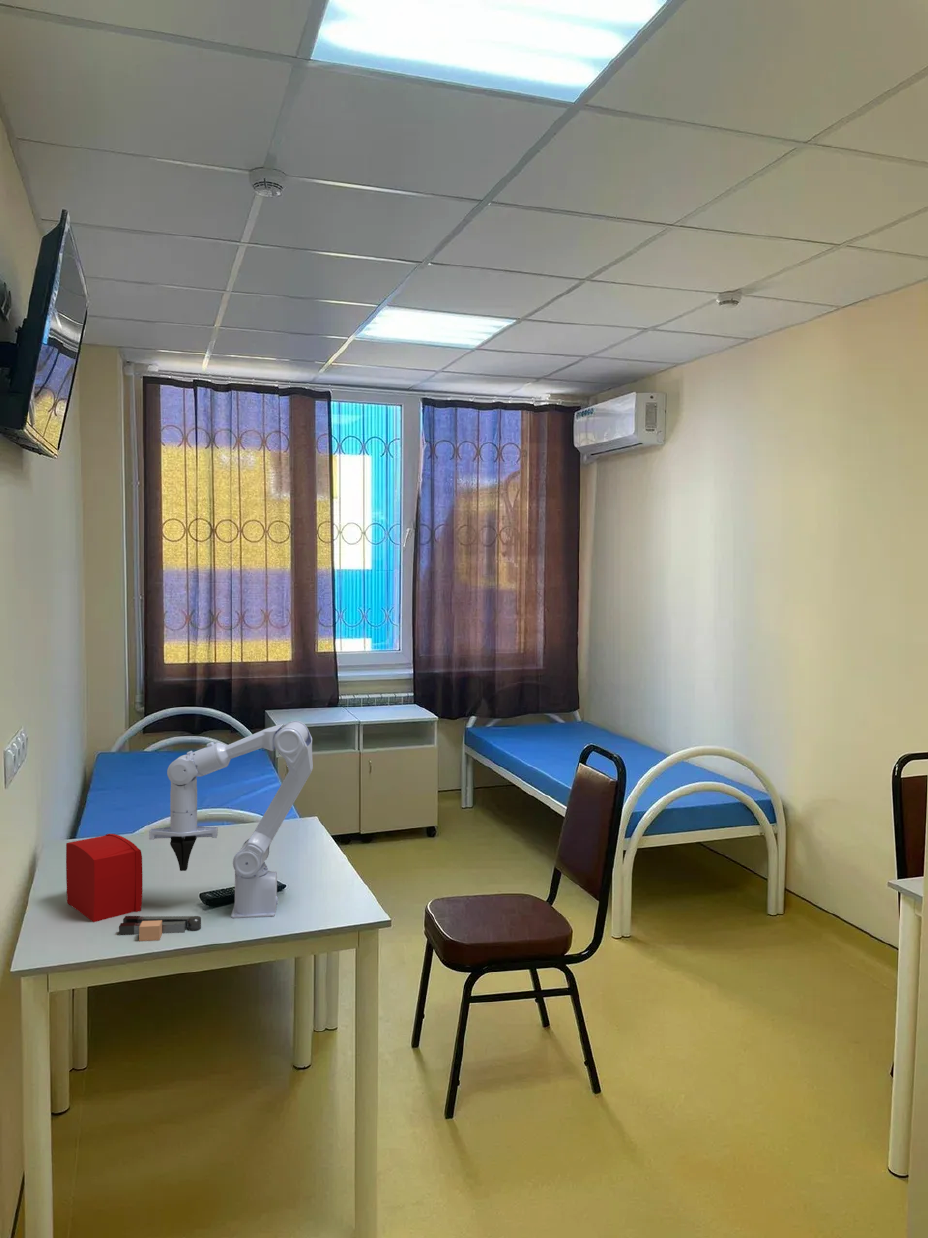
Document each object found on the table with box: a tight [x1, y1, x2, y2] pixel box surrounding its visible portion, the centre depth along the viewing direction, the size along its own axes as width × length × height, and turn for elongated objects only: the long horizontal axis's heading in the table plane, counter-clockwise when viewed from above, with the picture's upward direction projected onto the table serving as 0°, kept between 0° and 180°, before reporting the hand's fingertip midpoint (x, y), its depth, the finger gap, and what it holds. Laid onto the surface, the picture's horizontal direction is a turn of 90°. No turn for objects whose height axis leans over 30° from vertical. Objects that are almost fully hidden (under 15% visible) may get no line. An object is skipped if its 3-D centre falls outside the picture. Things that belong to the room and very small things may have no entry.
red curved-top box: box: [65, 833, 143, 923], centre depth 201 cm, size 16×11×15 cm
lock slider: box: [138, 920, 163, 942], centre depth 184 cm, size 4×3×3 cm
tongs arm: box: [122, 915, 202, 932], centre depth 189 cm, size 16×3×2 cm, turn 93°
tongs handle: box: [118, 921, 187, 936], centre depth 187 cm, size 13×2×2 cm, turn 99°
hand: (183, 869), depth 199 cm, fingers closed
